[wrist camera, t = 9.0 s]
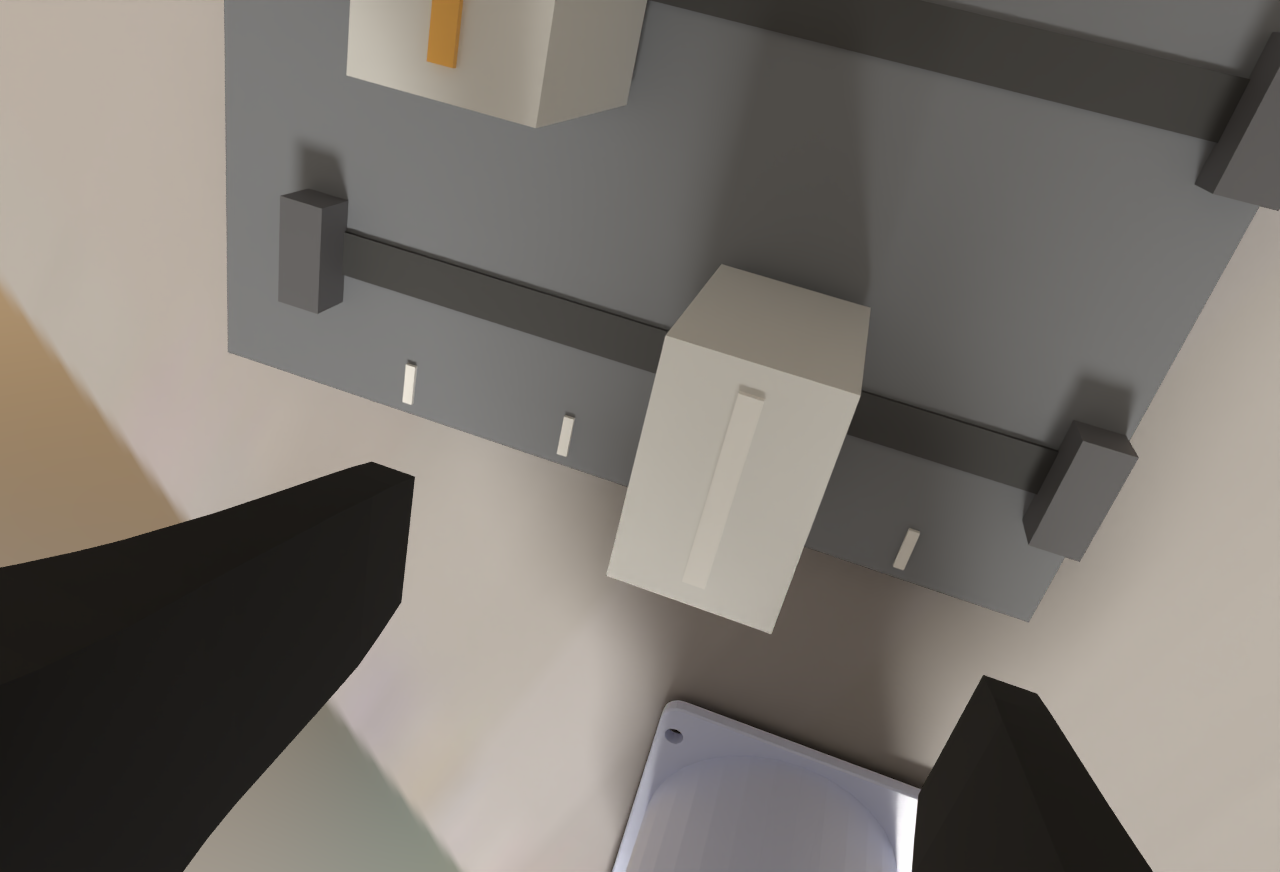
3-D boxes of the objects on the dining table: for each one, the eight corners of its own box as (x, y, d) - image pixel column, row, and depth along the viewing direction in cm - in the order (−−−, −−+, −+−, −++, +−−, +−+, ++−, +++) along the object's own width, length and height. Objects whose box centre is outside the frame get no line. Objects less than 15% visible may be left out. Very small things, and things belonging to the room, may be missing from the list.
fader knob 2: (799, 505, 19) (770, 638, 15) (668, 461, 19) (603, 579, 15) (870, 307, 17) (860, 398, 12) (721, 264, 17) (663, 337, 13)
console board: (1021, 591, 20) (1034, 651, 18) (259, 337, 23) (199, 365, 21) (1399, -111, 13) (1483, -136, 11) (264, -344, 16) (178, -395, 14)
